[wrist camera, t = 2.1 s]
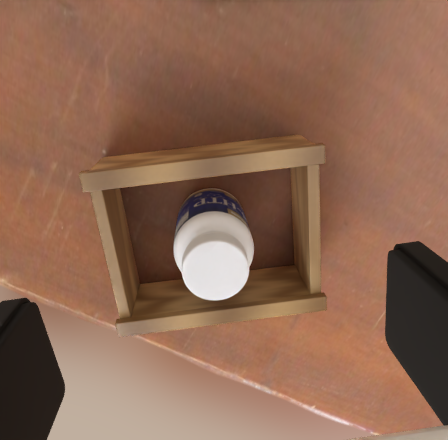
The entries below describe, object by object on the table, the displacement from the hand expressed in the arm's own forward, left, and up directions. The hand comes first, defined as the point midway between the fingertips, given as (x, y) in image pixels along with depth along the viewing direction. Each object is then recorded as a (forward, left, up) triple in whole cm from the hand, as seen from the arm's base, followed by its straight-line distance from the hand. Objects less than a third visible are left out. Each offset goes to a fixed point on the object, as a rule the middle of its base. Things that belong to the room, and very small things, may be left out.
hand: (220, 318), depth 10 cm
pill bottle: (0, -5, -20) cm, 21 cm away
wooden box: (0, -5, -20) cm, 21 cm away
